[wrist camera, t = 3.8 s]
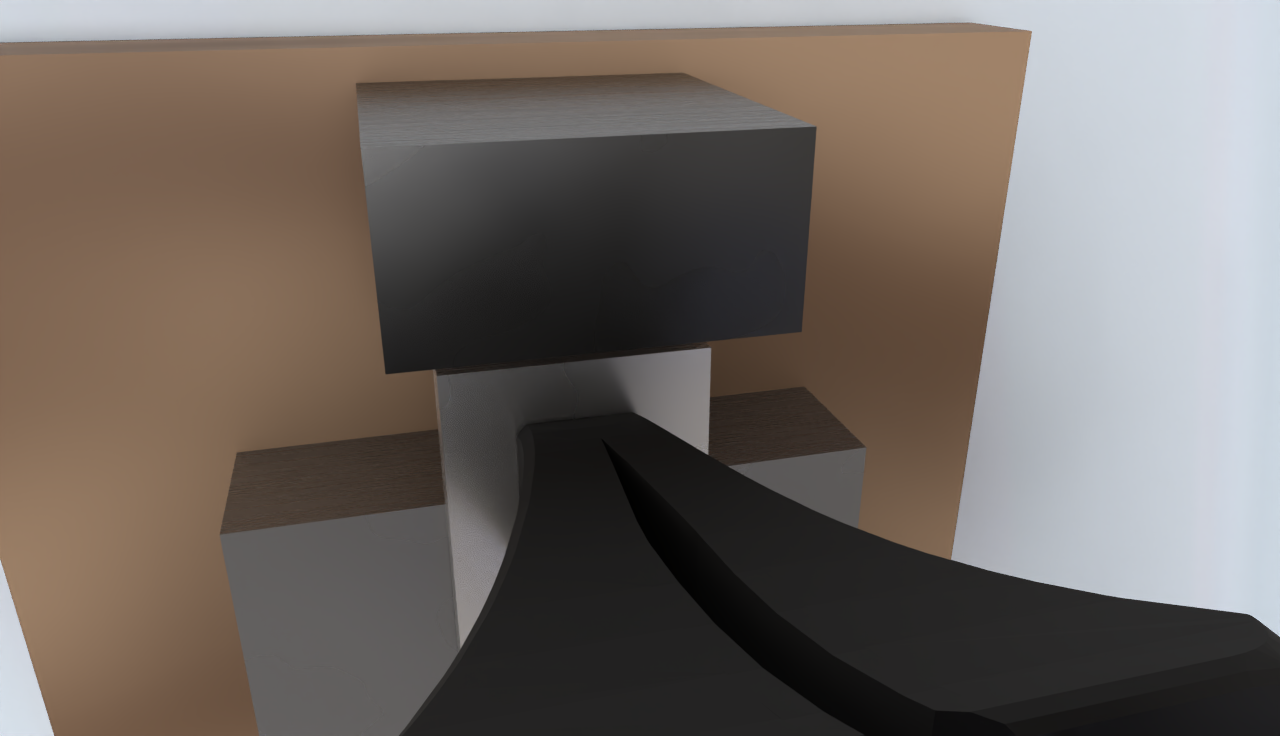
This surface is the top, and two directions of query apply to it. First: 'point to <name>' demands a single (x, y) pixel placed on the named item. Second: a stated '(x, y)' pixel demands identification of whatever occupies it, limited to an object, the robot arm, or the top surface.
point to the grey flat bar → (539, 393)
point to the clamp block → (520, 348)
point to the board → (348, 309)
